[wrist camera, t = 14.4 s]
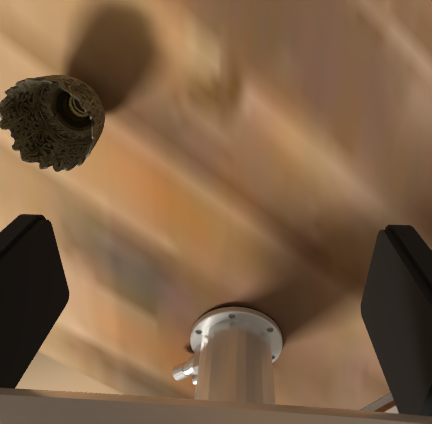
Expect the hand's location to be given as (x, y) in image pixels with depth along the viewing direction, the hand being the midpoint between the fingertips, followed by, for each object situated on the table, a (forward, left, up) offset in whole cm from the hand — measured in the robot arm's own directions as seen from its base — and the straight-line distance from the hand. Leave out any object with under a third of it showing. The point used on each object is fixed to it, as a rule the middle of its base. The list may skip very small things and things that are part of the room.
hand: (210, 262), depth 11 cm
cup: (-13, +7, -27) cm, 30 cm away
